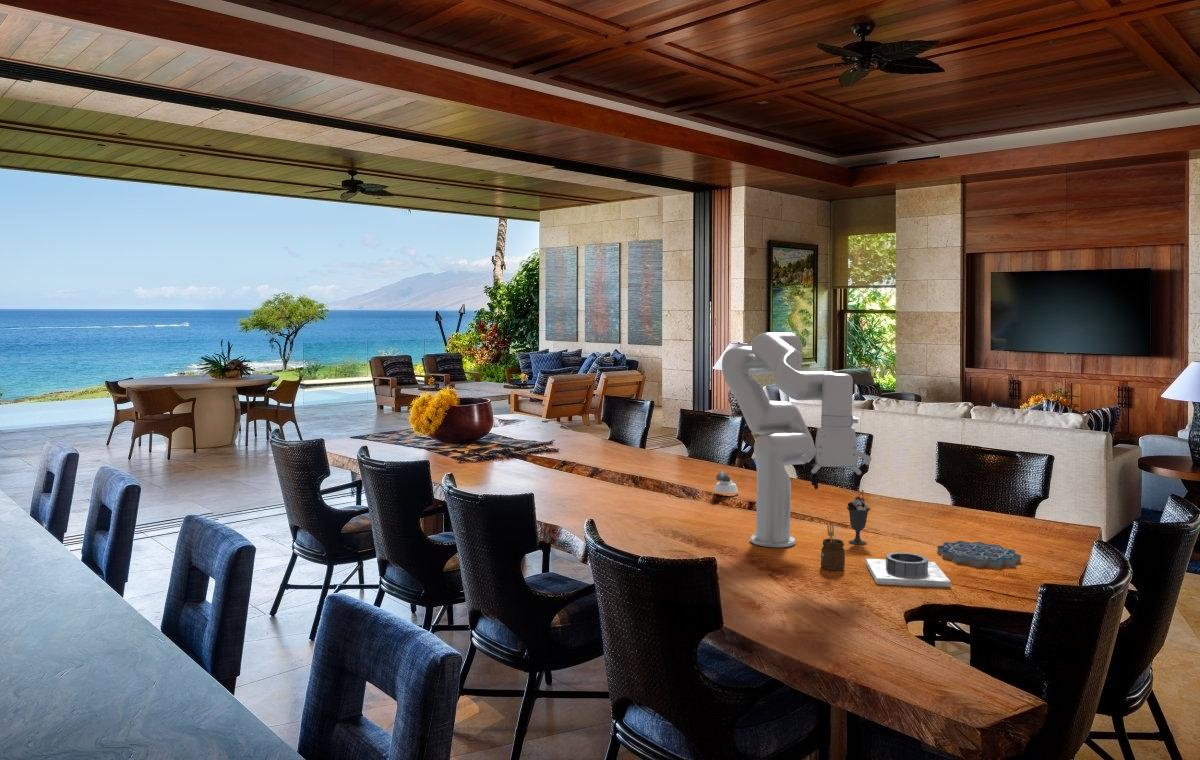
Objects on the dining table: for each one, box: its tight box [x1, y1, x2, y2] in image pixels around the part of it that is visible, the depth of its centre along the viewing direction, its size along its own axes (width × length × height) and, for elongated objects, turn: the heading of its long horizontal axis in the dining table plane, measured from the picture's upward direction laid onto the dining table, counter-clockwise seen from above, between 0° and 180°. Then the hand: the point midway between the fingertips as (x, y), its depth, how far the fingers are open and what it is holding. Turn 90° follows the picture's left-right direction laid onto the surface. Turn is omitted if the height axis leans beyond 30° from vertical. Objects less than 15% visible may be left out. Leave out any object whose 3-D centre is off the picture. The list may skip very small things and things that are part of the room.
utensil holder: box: [820, 523, 846, 572], centre depth 218 cm, size 6×6×12 cm
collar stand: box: [865, 551, 952, 589], centre depth 212 cm, size 17×17×4 cm
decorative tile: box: [936, 540, 1022, 570], centre depth 229 cm, size 20×20×2 cm
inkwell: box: [713, 470, 739, 493], centre depth 306 cm, size 9×18×10 cm, turn 166°
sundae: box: [846, 490, 871, 546], centre depth 243 cm, size 7×7×15 cm
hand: (835, 488), depth 216 cm, fingers open, 9 cm apart
